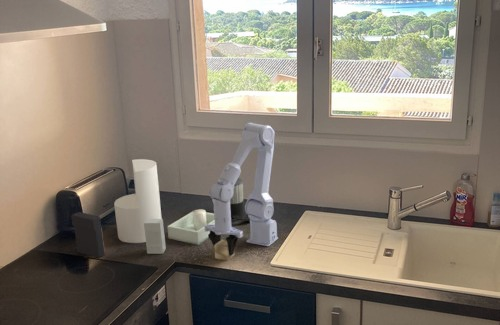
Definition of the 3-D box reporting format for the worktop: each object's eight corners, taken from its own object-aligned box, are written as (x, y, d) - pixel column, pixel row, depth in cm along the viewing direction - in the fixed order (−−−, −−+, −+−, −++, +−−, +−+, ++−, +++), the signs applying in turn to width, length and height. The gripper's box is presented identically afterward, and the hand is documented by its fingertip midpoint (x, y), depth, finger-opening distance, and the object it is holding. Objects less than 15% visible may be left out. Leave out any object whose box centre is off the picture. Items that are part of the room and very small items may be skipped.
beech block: (234, 254, 190) (234, 241, 189) (227, 260, 186) (226, 247, 185) (222, 252, 193) (222, 239, 191) (215, 258, 189) (214, 245, 187)
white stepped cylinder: (160, 222, 222) (154, 157, 214) (165, 239, 206) (158, 169, 198) (117, 228, 218) (109, 162, 210) (118, 245, 202) (110, 174, 194)
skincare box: (166, 248, 197) (163, 218, 194) (163, 254, 193) (160, 223, 190) (149, 248, 198) (146, 218, 195) (146, 254, 194) (143, 223, 191)
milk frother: (229, 209, 233) (228, 176, 229) (262, 214, 226) (261, 180, 222) (213, 221, 221) (210, 186, 217) (247, 226, 214) (245, 191, 210)
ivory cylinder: (209, 226, 214) (208, 210, 212) (203, 231, 209) (202, 214, 207) (198, 225, 216) (196, 208, 214) (192, 229, 211) (190, 213, 209)
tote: (224, 227, 214) (223, 215, 213) (198, 244, 200) (197, 232, 198) (195, 221, 221) (194, 210, 220) (168, 238, 206) (167, 226, 205)
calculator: (106, 254, 195) (101, 215, 191) (97, 258, 192) (92, 219, 188) (85, 248, 201) (79, 210, 197) (76, 253, 197) (70, 214, 193)
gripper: (198, 217, 185) (201, 253, 189) (234, 224, 178) (236, 261, 182) (209, 210, 191) (212, 245, 195) (245, 216, 184) (247, 253, 188)
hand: (224, 252), depth 189 cm, fingers closed on beech block, 5 cm apart
